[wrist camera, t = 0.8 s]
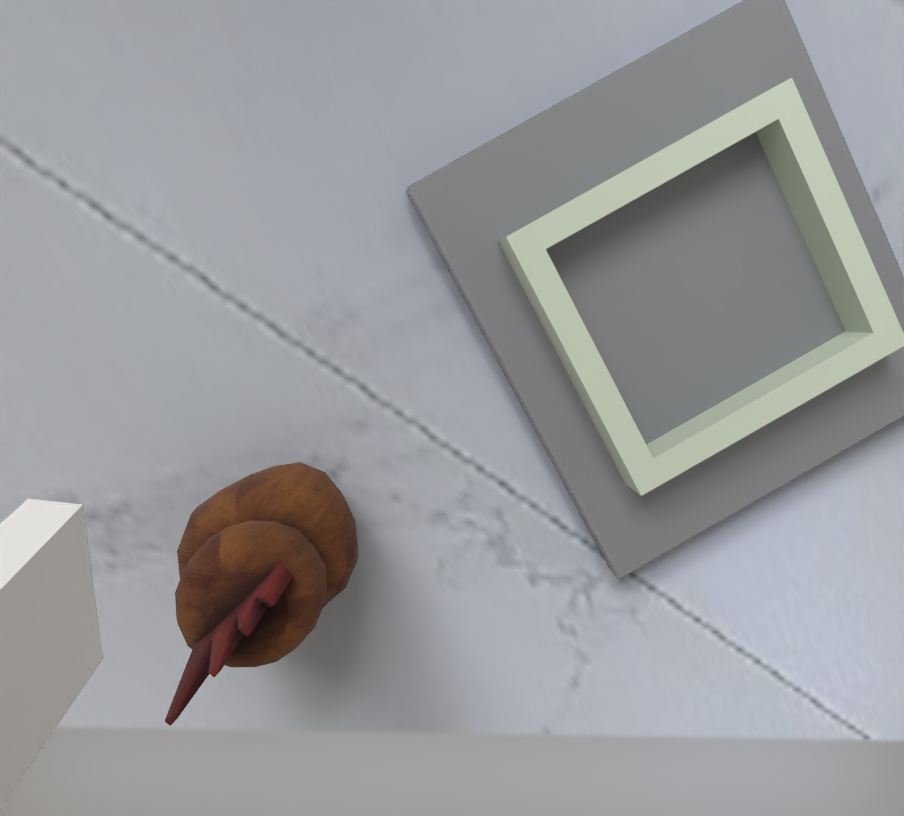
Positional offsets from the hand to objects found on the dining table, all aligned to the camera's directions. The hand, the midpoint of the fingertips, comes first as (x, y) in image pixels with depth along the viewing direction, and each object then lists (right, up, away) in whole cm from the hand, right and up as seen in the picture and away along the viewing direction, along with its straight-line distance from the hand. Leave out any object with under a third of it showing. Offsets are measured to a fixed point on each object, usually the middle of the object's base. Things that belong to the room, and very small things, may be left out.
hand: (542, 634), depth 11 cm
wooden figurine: (-9, -2, +24) cm, 26 cm away
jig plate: (+9, +9, +25) cm, 28 cm away
